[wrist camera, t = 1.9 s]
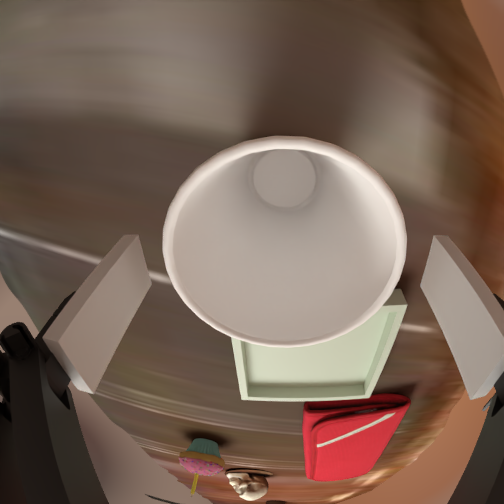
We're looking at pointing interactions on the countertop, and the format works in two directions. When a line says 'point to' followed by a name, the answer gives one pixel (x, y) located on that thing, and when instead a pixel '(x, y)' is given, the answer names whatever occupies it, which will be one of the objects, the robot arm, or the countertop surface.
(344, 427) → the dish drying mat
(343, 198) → the cup
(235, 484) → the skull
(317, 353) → the tray
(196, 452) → the cupcake
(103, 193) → the countertop surface
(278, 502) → the beer bottle
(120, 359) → the countertop surface
